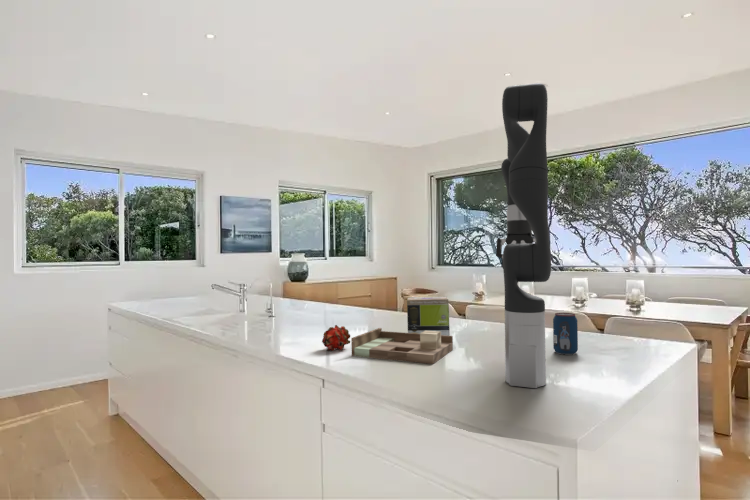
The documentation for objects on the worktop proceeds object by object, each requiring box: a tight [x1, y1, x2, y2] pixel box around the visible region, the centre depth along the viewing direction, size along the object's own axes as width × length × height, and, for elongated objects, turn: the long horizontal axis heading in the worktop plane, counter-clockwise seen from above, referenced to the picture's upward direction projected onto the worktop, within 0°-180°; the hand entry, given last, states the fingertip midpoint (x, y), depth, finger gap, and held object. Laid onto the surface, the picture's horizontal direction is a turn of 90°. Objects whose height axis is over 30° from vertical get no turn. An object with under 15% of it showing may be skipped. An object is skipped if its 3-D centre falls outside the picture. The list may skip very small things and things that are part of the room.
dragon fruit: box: [321, 324, 351, 352], centre depth 151 cm, size 8×8×12 cm
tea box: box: [406, 296, 451, 336], centre depth 169 cm, size 15×10×15 cm, turn 84°
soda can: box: [552, 312, 579, 356], centre depth 142 cm, size 7×7×12 cm
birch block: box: [420, 331, 441, 349], centre depth 141 cm, size 5×5×4 cm
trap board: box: [350, 327, 454, 365], centre depth 145 cm, size 20×26×6 cm
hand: (519, 270), depth 147 cm, fingers open, 8 cm apart
